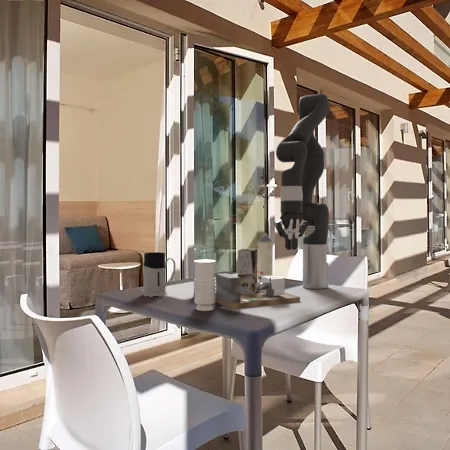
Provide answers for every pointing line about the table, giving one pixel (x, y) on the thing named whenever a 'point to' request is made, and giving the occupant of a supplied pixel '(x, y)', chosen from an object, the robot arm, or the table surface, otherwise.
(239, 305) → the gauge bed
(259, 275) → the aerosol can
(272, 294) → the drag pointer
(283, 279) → the white block
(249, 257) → the coffee box
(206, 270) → the candle
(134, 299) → the table surface
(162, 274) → the grey handled cylinder
